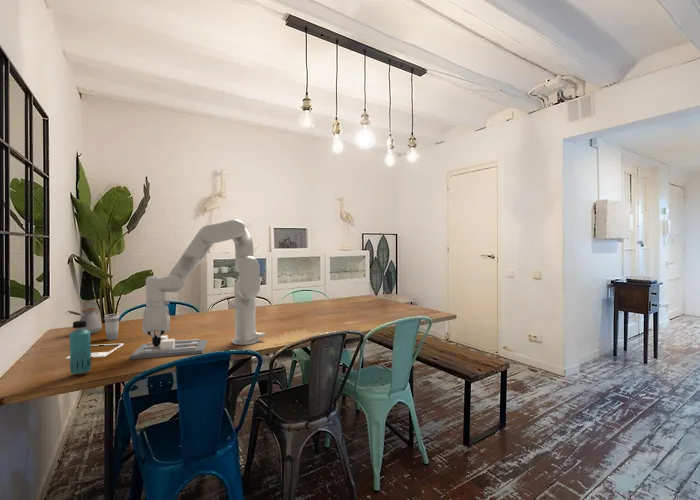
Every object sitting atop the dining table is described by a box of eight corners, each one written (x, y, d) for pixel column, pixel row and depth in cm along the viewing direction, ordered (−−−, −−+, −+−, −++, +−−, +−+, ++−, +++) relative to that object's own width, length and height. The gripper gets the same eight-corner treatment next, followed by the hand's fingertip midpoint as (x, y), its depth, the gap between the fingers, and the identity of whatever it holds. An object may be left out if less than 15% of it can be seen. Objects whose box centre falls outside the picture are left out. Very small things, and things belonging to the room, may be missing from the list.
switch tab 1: (168, 343, 162) (167, 335, 162) (166, 346, 159) (165, 337, 158) (156, 344, 161) (156, 336, 161) (153, 347, 157) (153, 338, 157)
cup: (120, 339, 175) (119, 315, 175) (103, 341, 172) (103, 317, 171) (119, 336, 181) (119, 313, 181) (104, 338, 177) (103, 314, 177)
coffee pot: (85, 330, 192) (84, 303, 192) (107, 330, 193) (106, 303, 193) (55, 341, 171) (55, 311, 171) (80, 341, 172) (79, 310, 172)
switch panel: (207, 342, 170) (207, 337, 170) (202, 353, 154) (202, 347, 153) (142, 347, 162) (142, 341, 162) (130, 359, 146) (130, 353, 146)
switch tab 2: (174, 347, 157) (174, 338, 157) (173, 350, 153) (172, 341, 153) (162, 348, 156) (162, 339, 155) (160, 351, 152) (160, 342, 152)
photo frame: (65, 357, 146) (89, 344, 164) (66, 360, 146) (89, 347, 164) (104, 355, 149) (123, 342, 167) (104, 357, 149) (123, 345, 167)
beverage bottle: (74, 379, 125) (73, 323, 124) (66, 375, 128) (65, 321, 128) (95, 373, 130) (94, 320, 130) (87, 370, 134) (86, 318, 133)
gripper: (176, 302, 158) (177, 342, 159) (139, 303, 154) (140, 344, 155) (172, 304, 151) (173, 347, 151) (133, 306, 147) (134, 349, 147)
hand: (156, 345), depth 153 cm, fingers closed
